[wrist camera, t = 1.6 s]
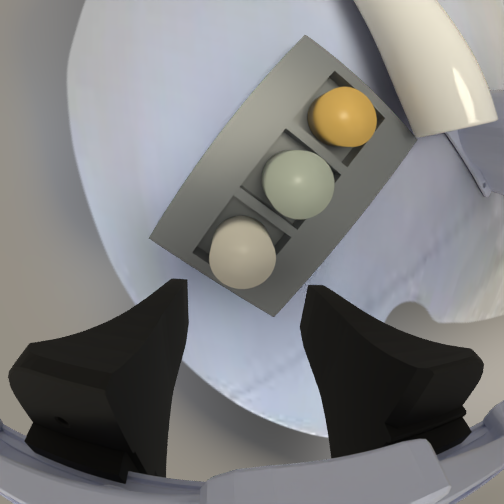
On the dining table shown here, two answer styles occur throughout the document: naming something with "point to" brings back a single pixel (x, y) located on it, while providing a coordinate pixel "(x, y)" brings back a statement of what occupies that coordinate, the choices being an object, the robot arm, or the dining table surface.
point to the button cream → (242, 253)
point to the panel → (254, 160)
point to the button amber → (342, 117)
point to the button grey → (298, 183)
